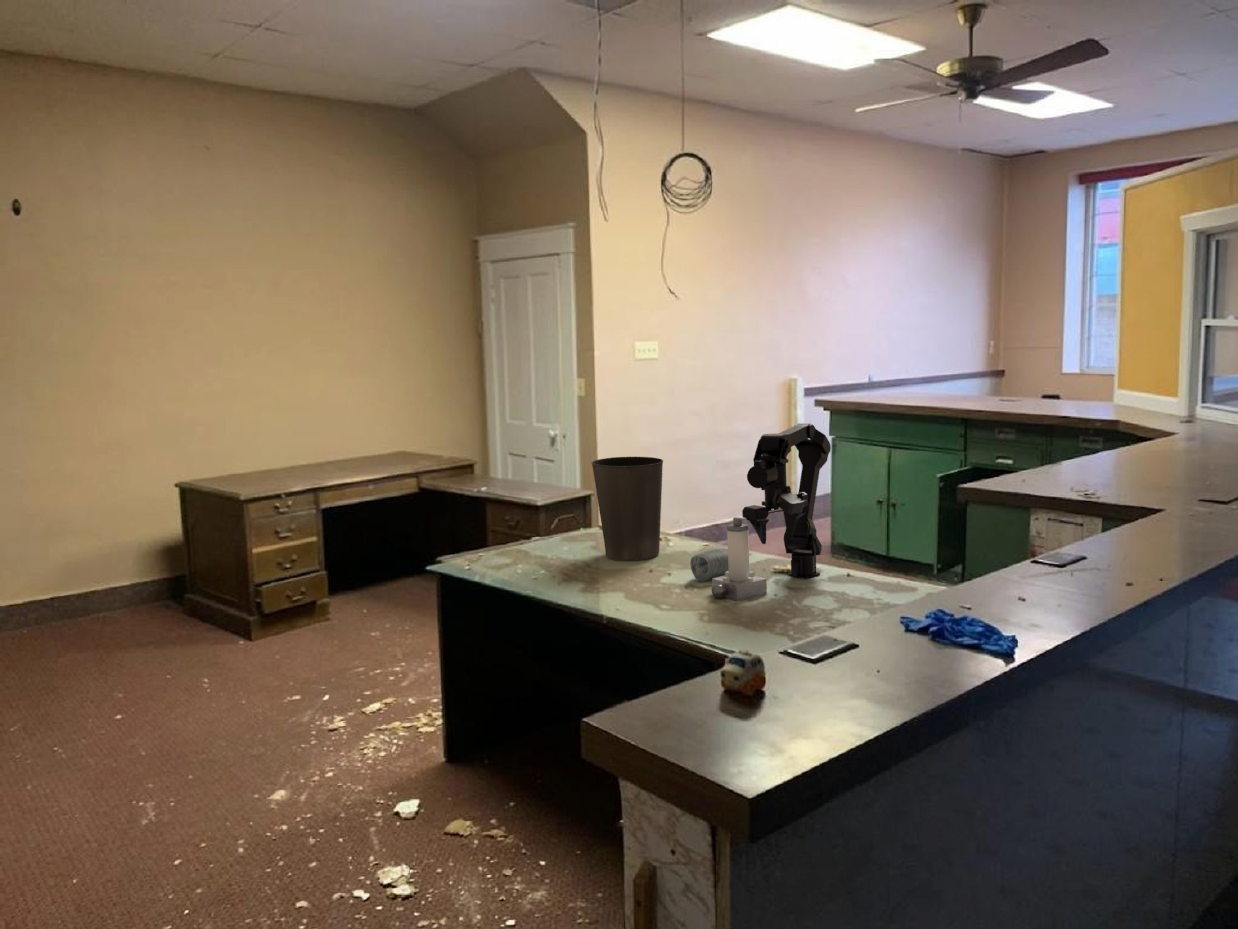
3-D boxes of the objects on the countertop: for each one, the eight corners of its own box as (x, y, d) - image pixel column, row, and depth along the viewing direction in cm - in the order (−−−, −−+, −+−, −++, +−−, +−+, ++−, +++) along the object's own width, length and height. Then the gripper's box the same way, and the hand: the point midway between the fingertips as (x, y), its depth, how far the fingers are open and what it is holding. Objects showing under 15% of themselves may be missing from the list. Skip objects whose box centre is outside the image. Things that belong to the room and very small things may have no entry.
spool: (702, 575, 249) (699, 540, 253) (685, 584, 257) (682, 550, 261) (745, 580, 255) (741, 545, 259) (726, 589, 262) (723, 555, 266)
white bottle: (747, 575, 244) (745, 515, 242) (751, 580, 238) (750, 519, 236) (726, 576, 243) (724, 516, 241) (730, 581, 238) (729, 520, 236)
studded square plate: (741, 586, 248) (741, 568, 248) (766, 593, 240) (766, 575, 239) (703, 595, 241) (702, 576, 241) (727, 603, 233) (727, 584, 232)
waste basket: (582, 553, 298) (577, 460, 294) (636, 543, 308) (631, 453, 304) (627, 568, 275) (621, 468, 271) (683, 557, 285) (678, 460, 281)
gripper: (769, 490, 228) (771, 552, 230) (823, 480, 238) (825, 540, 240) (739, 485, 237) (742, 545, 239) (793, 476, 247) (795, 534, 249)
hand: (777, 541), depth 242 cm, fingers open, 9 cm apart
